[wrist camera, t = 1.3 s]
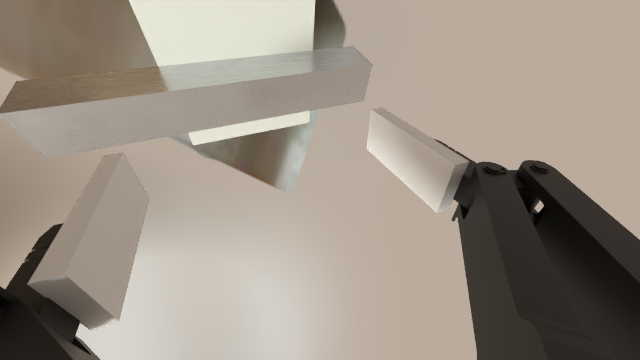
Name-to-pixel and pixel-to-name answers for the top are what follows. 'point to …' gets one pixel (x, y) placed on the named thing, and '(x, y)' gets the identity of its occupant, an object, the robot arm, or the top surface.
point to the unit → (227, 41)
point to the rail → (179, 98)
